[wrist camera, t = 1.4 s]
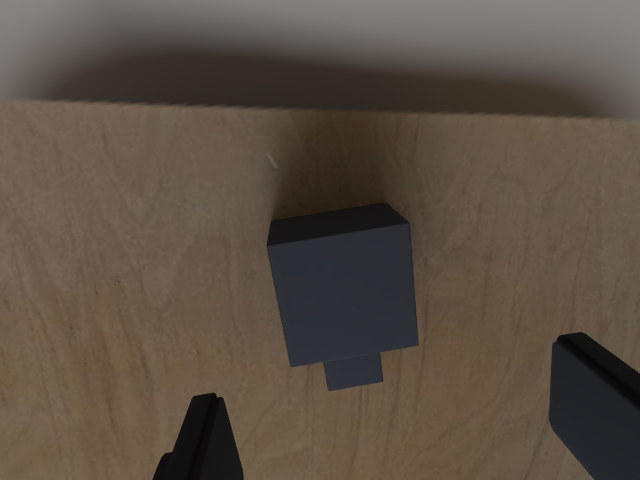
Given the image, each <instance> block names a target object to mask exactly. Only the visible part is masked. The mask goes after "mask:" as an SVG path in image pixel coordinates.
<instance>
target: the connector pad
mask: <svg viewBox="0 0 640 480" xmlns="http://www.w3.org/2000/svg"><path fill="white" fill-rule="evenodd" d="M267 250H268V255H269V261H270V266H271V271H272V276H273V281H274V286H275V291H276V296H277V301H278V306H279V311H280V316H281V321H282V326H283V331H284V336H285V341H286V346H287V351H288V356H289V361H290V366H291V367H297V366H303V365H309V364H315V363H320V362H324V368H325V374H326V380H327V386H328V390H329V391H333V390H339V389H345V388H351V387H356V386H362V385H368V384H373V383H379V382H383V375H382V366H381V357H380V352H384V351H390V350H396V349H401V348H407V347H413V346H418V345H419V343H418V330H417V316H416V303H415V290H414V276H413V263H412V249H411V236H410V223H409V222H408V221H407V220H406V219H405V218H404V217H402V216H401V215H400V214H399V213H398V212H397V211H395V210H394V209H393V208H392V207H391V206H390V205H388V204H387V203H380V204H374V205H368V206H361V207H355V208H349V209H343V210H336V211H330V212H324V213H318V214H311V215H305V216H299V217H293V218H286V219H280V220H274V221H271V224H270V230H269V236H268V241H267Z"/></svg>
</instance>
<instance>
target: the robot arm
mask: <svg viewBox="0 0 640 480" xmlns="http://www.w3.org/2000/svg"><path fill="white" fill-rule="evenodd" d="M549 421H550V424H551V427H552V429H553V431H554V432H555V434H556V435H557V436H558V437H559V438H560V439H561V441H562V442H563V443H564V444H565V445H566V447H567V448H568V449H569V450H570V451H571V453H572V454H573V455H574V456H575V457H576V459H577V460H578V461H579V462H580V463H581V465H582V466H583V467H584V468H585V469H586V470H587V472H588V473H589V474H590V475H591V476H592V478H593V479H594V480H640V373H638V372H637V371H636V370H634V369H633V368H631V367H630V366H629V365H627V364H626V363H625V362H623V361H622V360H620V359H619V358H618V357H616V356H615V355H614V354H612V353H611V352H609V351H608V350H607V349H605V348H604V347H603V346H601V345H600V344H598V343H597V342H596V341H594V340H593V339H592V338H590V337H589V336H587V335H586V334H584V333H582V332H577V333H571V334H565V335H560V336H559V337H558V338H557V341H556V342H554V343H553V345H552V362H551V385H550V408H549ZM152 480H244V476H243V469H242V466H241V462H240V458H239V454H238V451H237V447H236V443H235V439H234V436H233V432H232V428H231V424H230V421H229V417H228V413H227V409H226V406H225V402H224V399H223V397H219V398H217V396H216V394H215V393H209V394H203V395H197V396H194V397H193V398H192V400H191V402H190V405H189V408H188V411H187V413H186V416H185V419H184V422H183V424H182V427H181V430H180V432H179V435H178V438H177V441H176V443H175V446H174V449H173V452H170V453H165V454H164V455H163V456H162V458H161V460H160V462H159V464H158V467H157V469H156V472H155V474H154V477H153V479H152Z"/></svg>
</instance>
